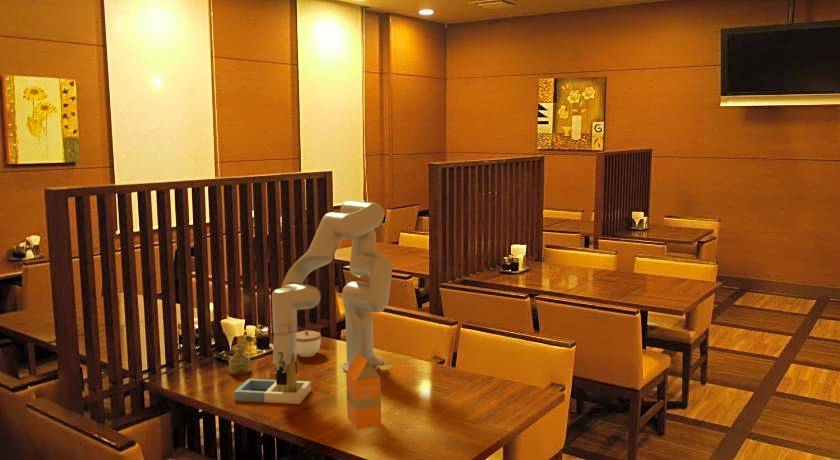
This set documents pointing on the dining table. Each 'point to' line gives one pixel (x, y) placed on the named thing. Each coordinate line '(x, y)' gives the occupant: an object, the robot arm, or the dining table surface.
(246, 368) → the olive bulbous piece
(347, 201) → the robot arm
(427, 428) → the dining table surface
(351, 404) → the orange juice
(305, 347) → the lidded jar
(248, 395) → the pocket rack
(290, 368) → the vase
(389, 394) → the dining table surface
